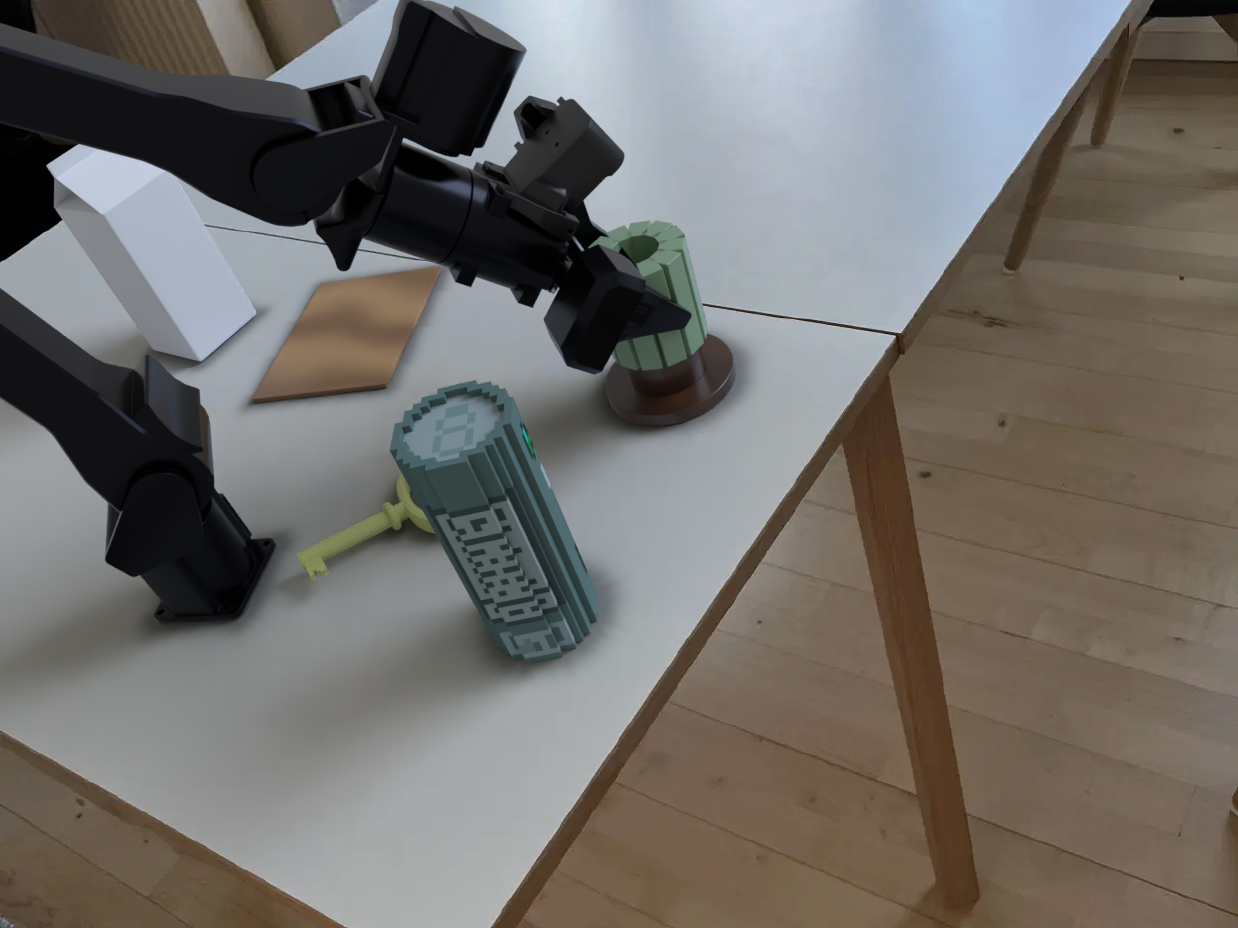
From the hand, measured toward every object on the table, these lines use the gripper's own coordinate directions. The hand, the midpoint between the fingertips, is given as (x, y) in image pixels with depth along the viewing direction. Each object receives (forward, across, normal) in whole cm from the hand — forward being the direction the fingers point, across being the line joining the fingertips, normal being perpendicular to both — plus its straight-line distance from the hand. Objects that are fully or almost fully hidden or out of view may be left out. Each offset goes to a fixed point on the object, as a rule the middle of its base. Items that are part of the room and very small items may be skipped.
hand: (668, 295), depth 69 cm
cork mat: (-10, +24, +20) cm, 33 cm away
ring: (+1, 0, +3) cm, 3 cm away
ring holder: (+4, 0, +6) cm, 7 cm away
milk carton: (-19, +34, +29) cm, 49 cm away
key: (-11, -2, +20) cm, 23 cm away
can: (-6, -15, +16) cm, 23 cm away
